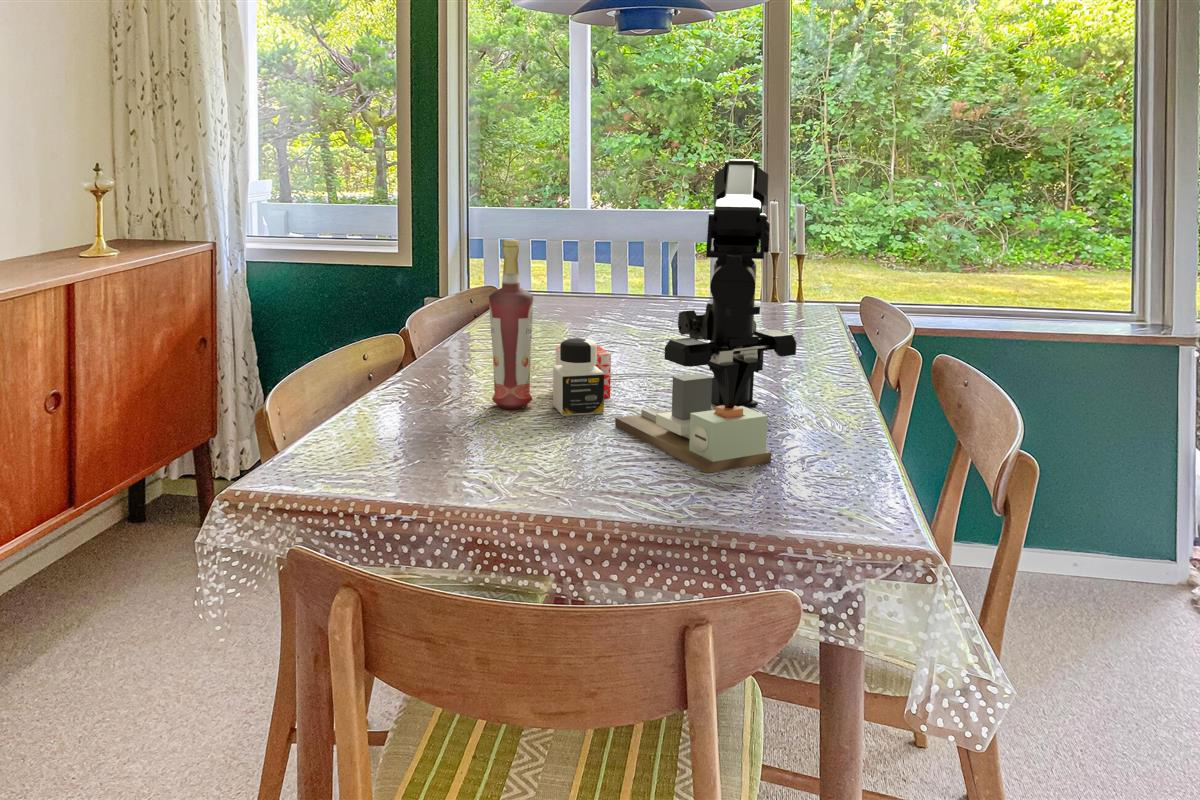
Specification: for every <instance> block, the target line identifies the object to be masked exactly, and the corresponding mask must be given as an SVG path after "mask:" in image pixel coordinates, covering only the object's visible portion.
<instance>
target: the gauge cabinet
mask: <svg viewBox="0 0 1200 800" xmlns="http://www.w3.org/2000/svg"><path fill="white" fill-rule="evenodd" d="M739 407H740V408H743V416H741V417H734V418H727V419H725V418H723V417H721V416H718V415H716V414H715V409H711V410H710V411H702V412H695V413H690V442H689V450H690V451H692V452H694V453H696V454H698V455H700V456H702V457H704V458H706V459H708V460H710V461H712V462H714V461H721V460H727V459H733V458H739V457H745V456H751V455H758V454H764V453H766V450H767V435H768V419H769V418H768V415H766V414H764V413H762V412H759V411H756V410H755V409H752V408H749V407H747V406H746V407H744V406H739Z"/></svg>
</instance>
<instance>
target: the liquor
mask: <svg viewBox="0 0 1200 800" xmlns="http://www.w3.org/2000/svg"><path fill="white" fill-rule="evenodd" d="M501 243H502V254H503V270H502V271H503V272H502V281H501V282H502V283H501V287H500V288H499V289H495V290H494V291H493V292H492V293H491V294H490V295H489V296H488V301H489V302H488V303H489V304H488V305H489V317H490V318H489V321H490V322H489V323H490V335H491V348H492V361H493V362H492V363H493V387H494V394H493V396H492V398H491V400H492V402H493V403H495V404H496V405H497V406H498V407H499V408H500V409H502V410H512V411H513V410H520V409H521V410H522V409H524V408H525V407H527V406H528V405H529V404H530V403H531V402H532V401H533V397H532V395H531V393H530V392H531V357H532V356H531V355H532V353H531V351H532V336H533V311H534V310H533V308H534V295H533V294H532V293H530V292H529V291H528V290H527V289H524V288H521V282H520V281H521V280H520V273H519V262H518V257H519V251H520V248H519V246H520V245H519V244H520V243H519V240H518V239H504V240H502V241H501Z"/></svg>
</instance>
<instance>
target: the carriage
mask: <svg viewBox="0 0 1200 800" xmlns="http://www.w3.org/2000/svg"><path fill="white" fill-rule="evenodd" d="M712 378H713V376H710V375H706V374H703V373H701V372H700V373H693V374H691V373H690V374H685V375H675V376H672V385H671V386H672V387H671V388H672V389H671V390H672V393H671V410H672V412H665V413H658V414H656V424H657V425H659V426H661V427H663V428H666V429H668V430H670V431H672V432H674V433H676V434H678V435H681V436H684V437H686V438H689V439H690V413H695V412H702V411H710V410H712V402H711V397H712Z"/></svg>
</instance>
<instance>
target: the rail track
mask: <svg viewBox="0 0 1200 800" xmlns="http://www.w3.org/2000/svg"><path fill="white" fill-rule="evenodd" d="M665 412H672V409H671V410H665V411H660V410H657V409H656V408H653V407H650V408H641V413H640V414H635V415H634V414H632V415H627V416H619V417H615V420H614V424H615V425H614V427H615V428H617V429H618V430H620V431H622V432H623V433H626V434H628V435H631V436H632V437H634V438H636V439H638V440H640V441H642V442H643V443H646V444H648V445H650V446H651V447H654V448H656V449H658V450H660V451H662V452H664V453H666V454H668V455H670V456H671V457H674V458H676V459H678V460H680V461H682V462H684V463H686V464H688V465H690V466H692V467H693V468H696V469H698V470H699V471H701V472H704V473H705V474H709V473H714V472H715V473H716V472H721V471H722V472H723V471H728V470H734V469H740V468H746V467H752V466H757V465H762V464H763V465H764V464H768V463H772V451H770V450H767V449H766V453H764V454H758V455H751V456H745V457H739V458H733V459H727V460H721V461H714V462H712V461H710V460H708V459H706V458H704V457H702V456H700V455H698V454H696V453H694V452H692V451H690V450H689V442H690V439H689V438H686V437H684V436H681V435H678V434H676V433H674V432H672V431H670V430H668V429H666V428H663V427H661V426H659V425H657V424H656V414H658V413H665Z"/></svg>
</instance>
